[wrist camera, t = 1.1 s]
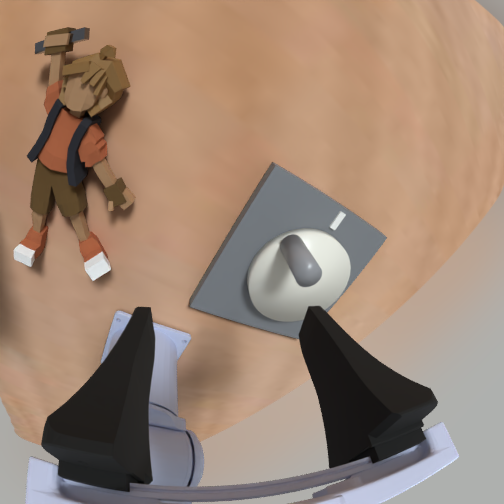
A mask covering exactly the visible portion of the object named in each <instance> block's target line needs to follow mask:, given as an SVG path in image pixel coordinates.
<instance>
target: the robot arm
mask: <svg viewBox="0 0 504 504" xmlns="http://www.w3.org/2000/svg"><path fill="white" fill-rule="evenodd" d="M117 318H119V319H117ZM184 340H185V341H184ZM190 340H191V335H190V334H188V333H185V332H182V331H179V330H176V329H172V328H169V327H166V326H163V325H160V324H157V323H154V322H153V320H152V313H151V307H137V308H135V310H134V312H133V314H132V315H131V314H128V313H125V312H122V311H116V313H115V315H114V318H113V322H112V325H111V328H110V331H109V335H108V338H107V341H106V345H105V348H104V352H103V355H102V359H101V365H100V367H99V368H98V369H97V370H96V372H95V373H94V374H93V375H92V376H91V377H90V379H89V380H88V381H87V382H86V383H85V384H84V385H83V386H82V387H81V388H80V389H79V390H78V391H77V392H76V393H75V394H74V395H73V396H72V397H71V398H70V399H69V400H68V401H67V402H66V403H65V404H63V405H62V406H61V407H60V408H58V409H57V410H56V411H55V412H53V413H52V414H51V415H50V416H48V417H47V421H46V423H45V427H44V431H43V437H42V443H41V445H42V447H43V448H44V449H45V450H46V451H47V452H48V453H50V454H51V455H53V456H54V457H56V458H57V459H58V460H59V466H58V465H56V464H53V463H50V462H48V461H44V460H41V459H38V458H35V457H32V456H31V457H30V458H29V466H28V476H27V486H26V487H27V488H26V504H192V502H215V501H232V500H242V499H252V498H260V497H267V496H274V495H280V494H285V493H290V492H295V491H300V490H304V489H309V488H313V487H317V486H321V485H325V484H329V483H332V482H335V481H339V480H342V479H345V478H346V479H345V480H344V481H341V482H339V483H336V484H333V485H330V486H327V487H326V488H325V489H323V490H321V491H318V492H316V493H313V498H312V499H308V500H304V501H300V502H294V503H290V504H380V503H382V502H384V501H386V500H388V499H390V498H392V497H394V496H396V495H398V494H400V493H402V492H404V491H406V490H408V489H409V488H411V487H413V486H415V485H416V484H418V483H420V482H421V481H423V480H425V479H426V478H428V477H430V476H431V475H433V474H434V473H436V472H438V471H439V470H441V469H442V468H444V467H445V466H447V465H448V464H450V463H451V462H453V461H454V460H456V459H457V458H458V457H459V455H458V453H457V451H456V448H455V446H454V444H453V442H452V440H451V438H450V436H449V434H448V431H447V429H446V427H445V426H444V423H443V422H440V423H438V424H436V425H434V426H432V427H430V428H428V429H426V430H425V431H422V429H421V427H423V425H424V424H423V422H422V419H423V418H424V417H425V416H427V415H428V414H429V413H430V412H431V411H432V410H433V409H434V408H435V407H436V406H437V403H438V401H437V399H436V398H435V396H434V394H433V392H432V390H431V389H430V388H428V387H425V386H423V385H420V384H418V383H415V382H413V381H411V380H409V379H407V378H406V377H404V376H402V375H400V374H398V373H397V372H395V371H393V370H392V369H390V368H388V367H387V366H386V365H384V364H382V363H381V362H379V361H378V360H377V359H376V358H374V357H373V356H372V355H370V354H369V353H368V352H367V351H366V350H364V349H363V348H362V347H361V346H360V345H359V344H358V343H357V342H356V341H354V340H353V339H352V338H351V337H350V336H349V335H348V334H347V333H346V332H345V331H344V330H343V329H342V328H341V327H340V326H339V325H338V324H337V323H336V322H335V321H334V320H333V318H332V317H331V316H330V315H329V314H328V313H327V312H326V311H325V310H324V309H323V308H322V307H321V306H308V309H307V312H306V315H305V318H304V320H303V323H302V326H301V329H300V332H299V340H300V345H301V350H302V354H303V357H304V359H305V362H306V365H307V368H308V370H309V373H310V376H311V379H312V381H313V384H314V387H315V389H316V393H317V395H318V399H319V404H320V408H321V412H322V417H323V422H324V428H325V434H326V440H327V448H328V458H329V468H330V469H326V470H323V471H318V472H314V473H310V474H306V475H301V476H296V477H291V478H285V479H279V480H273V481H266V482H259V483H250V484H241V485H228V486H207V487H206V486H205V487H197V485H198V483H199V482H200V480H201V478H202V475H203V469H204V454H203V449H202V446H201V443H200V441H199V440H198V438H197V436H196V435H195V433H194V432H192V431H191V430H186V421H185V419H183V418H179V417H178V394H177V360H178V359H179V357H180V356H181V354H182V352H183V351H184V349H185V348H186V346H187V345H188V343H189V342H190Z"/></svg>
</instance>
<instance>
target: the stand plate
mask: <svg viewBox="0 0 504 504" xmlns="http://www.w3.org/2000/svg"><path fill="white" fill-rule="evenodd" d="M302 228H313V229H318V230H322V231H325V232H327V233H329V234H330V235H332V236H333V237H334V238H335V239H336V240H337V241H338V242H339V243H340V244H341V245H342V247H343V248H344V249H345V251H346V252H347V254H348V256H349V259H350V266H351V270H350V277H349V280H348V283H347V285H346V287H345V289H344V291H343V292H342V294H341V295H340V297H341V296H342V295H343V293H344V292H345V291H346V290H347V289H348V287H349V286H350V285H351V284H352V283H353V281H354V280H355V279H356V278H357V276H358V275H359V274H360V273H361V271H362V270H363V269H364V268H365V266H366V265H367V264H368V262H369V261H370V260H371V259H372V257H373V256H374V255H375V253H376V252H377V251H378V249H379V248H380V247H381V245H382V244H383V243H384V241H385V240H386V239H387V237H386V236H385V235H384V234H383V233H381V232H380V231H379V230H377V229H376V228H374V227H373V226H372V225H370V224H369V223H367V222H366V221H365V220H363V219H362V218H360V217H359V216H357V215H356V214H354V213H353V212H352V211H350V210H349V209H347V208H346V207H344V206H343V205H341V204H340V203H338V202H337V201H335V200H334V199H332V198H330V197H329V196H327V195H326V194H324V193H323V192H321V191H320V190H318V189H316V188H315V187H313V186H312V185H310V184H308V183H307V182H305V181H304V180H302V179H300V178H299V177H297V176H295V175H294V174H292V173H290V172H289V171H287V170H285V169H284V168H282V167H280V166H279V165H277V164H275V163H273V162H272V163H271V165H270V167H269V168H268V170H267V171H266V173H265V174H264V176H263V178H262V179H261V181H260V182H259V184H258V186H257V187H256V189H255V191H254V192H253V194H252V195H251V197H250V199H249V200H248V202H247V204H246V205H245V207H244V208H243V210H242V212H241V213H240V215H239V217H238V218H237V220H236V222H235V223H234V225H233V227H232V228H231V230H230V232H229V233H228V235H227V237H226V238H225V240H224V242H223V243H222V245H221V247H220V248H219V250H218V252H217V253H216V255H215V257H214V258H213V260H212V262H211V264H210V265H209V267H208V269H207V270H206V272H205V274H204V276H203V277H202V279H201V281H200V282H199V284H198V286H197V288H196V289H195V291H194V293H193V295H192V296H191V298H190V307H192V308H195V309H198V310H201V311H204V312H207V313H210V314H213V315H216V316H219V317H223V318H226V319H229V320H232V321H236V322H239V323H242V324H246V325H249V326H253V327H256V328H260V329H263V330H267V331H270V332H274V333H278V334H281V335H285V336H289V337H293V338H296V339H299V332H300V329H301V326H302V323H303V320H300V321H293V322H282V321H276V320H273V319H270V318H268V317H266V316H264V315H263V314H261V313H260V312H259V311H258V310H257V309H256V308H255V306H254V305H253V303H252V300H251V298H250V294H249V290H248V286H247V275H248V270H249V267H250V264H251V262H252V260H253V258H254V257H255V255H256V254H257V253H258V251H259V250H260V249H261V248H262V247H263V246H264V245H265V244H266V243H268V242H269V241H270V240H272V239H273V238H275V237H277V236H278V235H281V234H283V233H285V232H288V231H291V230H295V229H302ZM340 297H339V298H340ZM339 298H338V299H339ZM338 299H337V300H336V301H335V302H334V303H333V304H332V305H331V306H330V307H328V308H327V309H326V310H325V311H326V312H328V311H329V310H330V309H331V308H332V306H333V305H334V304H335V303H336V302H337V301H338Z"/></svg>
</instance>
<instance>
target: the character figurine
mask: <svg viewBox="0 0 504 504" xmlns="http://www.w3.org/2000/svg"><path fill="white" fill-rule="evenodd" d="M89 31H90V28H81V29H77V30H76V29H75V28H69V27H68V28H63V29H59V30H55V31H51V32H47V36H45V40H43V41H40V42H38V43H35V54H42V53H44V52H45V55H51V65H50V74H49V87H48V88H47V91H46V99H45V102H44V106H45V109H46V112H47V114H48V117H47V120H46V123H45V125H44V128H43V131H42V133H41V135H40V136H39V138H38V140H37V142H36V144H35V145H34V146H33V148H32V149H31V151H30V152H29V153H28V155H27V157H28V158H29V160H30V161H31V162H33V161H34V160H36V159H37V158H38V160H37V165H36V170H35V175H34V181H33V186H32V192H31V204H30V207H31V209H32V210H33V212H32V220H33V226H32V228H31V229H30V230H29V232H28V234H27V236H26V238H25V239H24V240H23V241H21V242H20V244H19V245H18V246H17V247H16V248H15V249H14V259H15V260H17V261H19V262H21V263H23V264H25V265H27V266H29V267H31V266H32V265H33V262H34V260H35V259H36V258H37V257H38V256H39V255H40V254H41V253H42V251H43V250H44V248H45V243H46V237H47V232H48V227H47V226H45V221H46V216H47V214H48V213H49V212H50V211H51V210H52V208H53V204H54V200H55V199H56V203H57V206H58V208H59V210H60V212H61V214H62V216H64V217H67V216H70V220H71V222H72V224H73V227H74V229H75V231H76V233H77V236H78V238H79V246H80V252H81V254H82V256H83V257H84V262H85V263H84V264H85V271H86V272H87V274H88V275H89V276H90V278H91V279H92V280H93V281H94V280H95V279H97V278H99V277H100V276H102V275H103V274H105V273H107V272H108V271H110V270H111V267H110V263H109V261H108V257H107V254H106V252H105V250H104V248H103V246H102V245H101V243H100V241H99V239H98V237H97V236H96V235H95V234H94V233H92V232H89V230H88V226H87V222H86V219H85V216H84V213H83V210H84V209H85V208H86V206H87V200H86V194H85V190H84V187H83V184H82V180H83V179H84V178H85V177H86V176H87V173H88V167H91V166H92V167H93V168H94V170H95V172H96V174H97V176H98V177H99V179H100V180H101V182H102V183H103V185H104V186H105V188H104V190H103V191H104V193H105V195H106V197H107V199H108V211H114V207H116V206H118V205H120V207H121V208H122V209H123V210H125V209H126V208H127V207H128V206H130V205H131V204H132V203H133V202H134V200H135V198H136V197H135V196H134V195H133V193H132V192H131V191H130V190H129V189H128V188H127V187H126V186H125V184H124V182H123V180H122V178H119V179H116V177H115V176H114V174H113V172H112V170H111V168H110V166H109V164H108V163H107V161H106V159H105V156H106V155H107V142H106V141H105V140H104V139H103V138H104V134H103V132H102V131H101V129H100V127H99V125H100V123H101V118H100V117H99V116H97V115H96V114H98V113H100V112H102V111H104V110H105V109H107V108H108V107H110V106H111V105H113V104H114V103H115V102H117V101H118V100H119V99H120V98H121V95H122V92H123V90H124V89H126V88H128V87H130V83H129V81H128V78H127V75H126V72H125V70H124V67H123V64H122V61H121V60H120V59H116V58H115V55H116V48H115V47H113V46H111V45H107V46H105V47H104V48H102V49H101V51H100V53H96V54H93V55H89V56H86V57H83V58H80V59H77V60H74V61H72V64H68V65H65V55H66V52H69V51H73V44H74V43H77V42H81V41H85V40H89ZM111 57H112V58H111ZM64 75H66V76H65V77H64ZM63 77H64V79H63Z"/></svg>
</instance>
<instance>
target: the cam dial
mask: <svg viewBox="0 0 504 504" xmlns="http://www.w3.org/2000/svg"><path fill="white" fill-rule="evenodd" d="M350 270H351V266H350V259H349V256H348V254H347V252H346V251H345V249H344V248H343V247H342V245H341V244H340V243H339V242H338V241H337V240H336V239H335V238H334V237H333V236H332V235H330V234H329V233H327V232H325V231H322V230H318V229H313V228H302V229H295V230H291V231H288V232H285V233H283V234H281V235H278V236H277V237H275V238H273V239H272V240H270V241H269V242H268V243H266V244H265V245H264V246H263V247H262V248H261V249H260V250H259V251H258V253H257V254H256V255H255V257H254V258H253V260H252V262H251V264H250V267H249V270H248V275H247V286H248V290H249V294H250V298H251V300H252V303H253V305H254V306H255V308H256V309H257V310H258V311H259V312H260V313H261V314H263V315H264V316H266V317H268V318H270V319H273V320H276V321H282V322H293V321H300V320H304V318H305V315H306V312H307V309H308V306H321V307H322V308H323V309H324V310H326V309H327V308H328V307H330V306H331V305H332V304H333V303H334V302H335V301H336V300H337V299H338V298H339V297H340V295H341V294H342V292H343V291H344V289H345V287H346V285H347V283H348V280H349V277H350Z"/></svg>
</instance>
